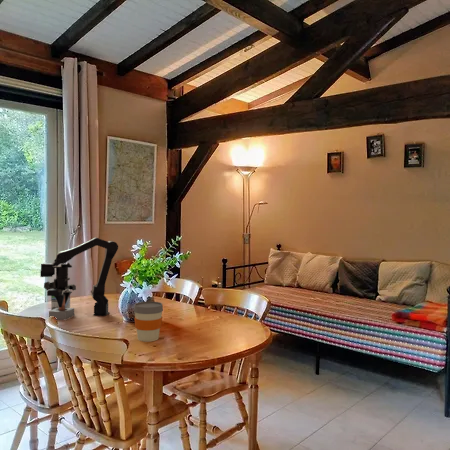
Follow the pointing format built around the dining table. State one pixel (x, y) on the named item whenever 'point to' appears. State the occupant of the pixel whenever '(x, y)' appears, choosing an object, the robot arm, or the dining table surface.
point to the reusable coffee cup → (148, 320)
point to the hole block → (62, 313)
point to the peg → (62, 306)
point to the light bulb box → (55, 304)
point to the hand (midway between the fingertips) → (61, 306)
